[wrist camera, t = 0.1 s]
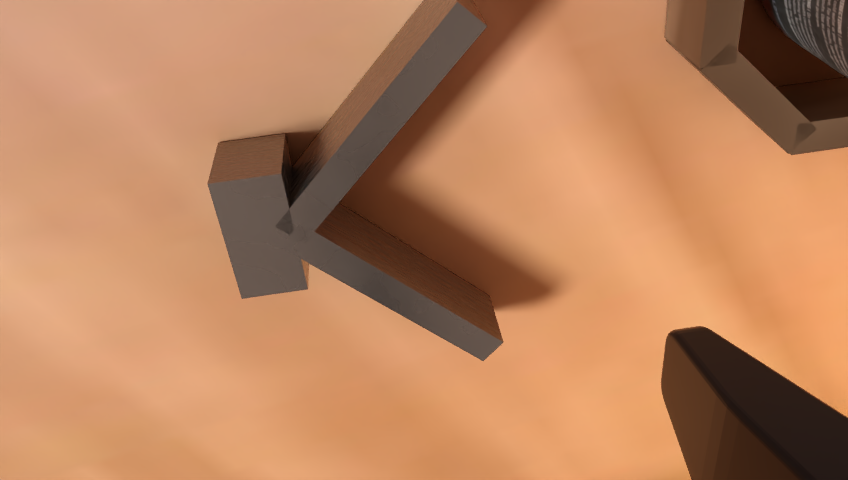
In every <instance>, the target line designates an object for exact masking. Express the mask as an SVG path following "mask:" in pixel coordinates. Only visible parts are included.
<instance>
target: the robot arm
mask: <svg viewBox="0 0 848 480" xmlns="http://www.w3.org/2000/svg"><path fill="white" fill-rule="evenodd" d="M661 388H662V394H663V399H664V402H665V405H666V408H667V410H668V413H669V416H670V419H671V422H672V425H673V428H674V430H675V433H676V436H677V439H678V442H679V445H680V448H681V450H682V453H683V456H684V459H685V462H686V465H687V468H688V470H689V473H690V476H691V479H692V480H848V418H847V417H846V416H844V415H843V414H841V413H840V412H838V411H837V410H835V409H833V408H832V407H830V406H829V405H827V404H826V403H824V402H822V401H821V400H819V399H818V398H816V397H815V396H813V395H812V394H810V393H808V392H807V391H805V390H804V389H802V388H801V387H799V386H797V385H796V384H794V383H793V382H791V381H790V380H788V379H787V378H785V377H783V376H782V375H780V374H779V373H777V372H776V371H774V370H773V369H771V368H769V367H768V366H766V365H765V364H763V363H762V362H760V361H758V360H757V359H755V358H754V357H752V356H751V355H749V354H748V353H746V352H744V351H743V350H741V349H740V348H738V347H737V346H735V345H734V344H732V343H730V342H729V341H727V340H726V339H724V338H723V337H721V336H719V335H718V334H716V333H715V332H713V331H712V330H710V329H708V328H706V327H702V326H697V327H691V328H684V329H677V330H673V331H671V332H670V333H669V334H668V336H667V338H666V344H665V352H664V361H663V369H662V377H661Z"/></svg>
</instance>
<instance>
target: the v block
mask: <svg viewBox="0 0 848 480" xmlns="http://www.w3.org/2000/svg"><path fill="white" fill-rule="evenodd" d="M486 27H487V25H486V23H485V21H484V19H483V18H482V16H481V14H480V12H479V11H478V9H477V7H476V5H475V3H474V2H473V0H424V1H423V2H422V3H421V4H420V6H419V7H418V8H417V9H416V11H415V12H414V13H413V15H412V16H411V17H410V18H409V20H408V21H407V22H406V23H405V25H404V26H403V27H402V28H401V30H400V31H399V32H398V34H397V35H396V36H395V37H394V39H393V40H392V41H391V42H390V44H389V45H388V46H387V47H386V49H385V50H384V51H383V53H382V54H381V55H380V56H379V58H378V59H377V60H376V61H375V63H374V64H373V65H372V66H371V68H370V69H369V70H368V72H367V73H366V74H365V75H364V77H363V78H362V79H361V80H360V82H359V83H358V84H357V85H356V87H355V88H354V89H353V91H352V92H351V93H350V94H349V96H348V97H347V98H346V99H345V101H344V102H343V103H342V104H341V106H340V107H339V108H338V110H337V111H336V112H335V113H334V115H333V116H332V117H331V118H330V120H329V121H328V122H327V123H326V125H325V126H324V127H323V129H322V130H321V131H320V132H319V134H318V135H317V136H316V137H315V139H314V140H313V141H312V142H311V144H310V145H309V146H308V148H307V149H306V150H305V151H304V153H303V154H302V155H301V156H300V158H299V159H298V160H297V161H296V163H295V164H294V165H293V167H292V163H291V158H290V154H289V149H288V145H287V140H286V136H285V134H278V135H271V136H264V137H256V138H249V139H242V140H234V141H227V142H220V143H218V145H217V149H216V153H215V157H214V161H213V165H212V169H211V173H210V176H209V180H208V187H209V190H210V194H211V197H212V200H213V204H214V207H215V210H216V214H217V217H218V220H219V224H220V227H221V230H222V234H223V237H224V240H225V244H226V247H227V251H228V254H229V257H230V261H231V264H232V267H233V271H234V274H235V277H236V281H237V284H238V287H239V291H240V294H241V297H242V299H243V298H250V297H257V296H264V295H271V294H278V293H285V292H292V291H299V290H306V289H308V274H309V264H311V265H313V266H315V267H316V268H318V269H320V270H322V271H324V272H325V273H327V274H329V275H331V276H333V277H334V278H336V279H338V280H340V281H341V282H343V283H345V284H347V285H349V286H350V287H352V288H354V289H356V290H357V291H359V292H361V293H363V294H365V295H366V296H368V297H370V298H372V299H373V300H375V301H377V302H379V303H381V304H382V305H384V306H386V307H388V308H389V309H391V310H393V311H395V312H397V313H398V314H400V315H402V316H404V317H406V318H407V319H409V320H411V321H413V322H414V323H416V324H418V325H420V326H422V327H423V328H425V329H427V330H429V331H430V332H432V333H434V334H436V335H438V336H439V337H441V338H443V339H445V340H446V341H448V342H450V343H452V344H454V345H455V346H457V347H459V348H461V349H462V350H464V351H466V352H468V353H470V354H471V355H473V356H475V357H477V358H479V359H480V360H482V361H484V360H485V359H486V358H487V357H488V356H489V355H490V354H492V353H493V352H494V351H495V350H496V349H497V348H498V347H499V346H500V345H501V344H502V343H503V339H502V336H501V333H500V329H499V326H498V322H497V319H496V316H495V312H494V309H493V306H492V302H491V299H490V296H489V295H488V294H486V293H484V292H483V291H481V290H479V289H478V288H476V287H475V286H473V285H471V284H470V283H468V282H466V281H465V280H463V279H462V278H460V277H458V276H457V275H455V274H453V273H452V272H450V271H449V270H447V269H445V268H444V267H442V266H440V265H439V264H437V263H436V262H434V261H432V260H431V259H429V258H427V257H426V256H424V255H422V254H421V253H419V252H418V251H416V250H414V249H413V248H411V247H409V246H408V245H406V244H405V243H403V242H401V241H400V240H398V239H396V238H395V237H393V236H392V235H390V234H388V233H387V232H385V231H383V230H382V229H380V228H379V227H377V226H375V225H374V224H372V223H370V222H369V221H367V220H366V219H364V218H362V217H361V216H359V215H357V214H356V213H354V212H353V211H351V210H349V209H348V208H346V207H344V206H343V205H341V204H340V203H339V202H340V201H341V199H342V198H343V197H344V196H345V195H346V193H347V192H348V191H349V190H350V189H351V187H352V186H353V185H354V184H355V183H356V182H357V180H358V179H359V178H360V177H361V176H362V174H363V173H364V172H365V171H366V170H367V168H368V167H369V166H370V165H371V164H372V162H373V161H374V160H375V159H376V158H377V157H378V155H379V154H380V153H381V152H382V151H383V149H384V148H385V147H386V146H387V145H388V143H389V142H390V141H391V140H392V139H393V138H394V136H395V135H396V134H397V133H398V132H399V130H400V129H401V128H402V127H403V126H404V124H405V123H406V122H407V121H408V120H409V119H410V117H411V116H412V115H413V114H414V113H415V111H416V110H417V109H418V108H419V107H420V105H421V104H422V103H423V102H424V101H425V100H426V98H427V97H428V96H429V95H430V94H431V92H432V91H433V90H434V89H435V88H436V86H437V85H438V84H439V83H440V82H441V81H442V79H443V78H444V77H445V76H446V75H447V73H448V72H449V71H450V70H451V69H452V67H453V66H454V65H455V64H456V63H457V62H458V60H459V59H460V58H461V57H462V56H463V54H464V53H465V52H466V51H467V50H468V48H469V47H470V46H471V45H472V44H473V43H474V41H475V40H476V39H477V38H478V37H479V35H480V34H481V33H482V32H483V31H484V29H485V28H486Z"/></svg>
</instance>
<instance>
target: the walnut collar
mask: <svg viewBox="0 0 848 480" xmlns="http://www.w3.org/2000/svg"><path fill="white" fill-rule="evenodd" d="M744 2H745V0H668V1H667V13H666V25H665V38H666V41H667V42H668V43H669V44H670V45H671V46H672V47H673V48H674V49H675V50H677V51H678V52H679V53H680V54H681V55H682V56H683V57H684V58H685V59H686V60H687V61H688V62H689V63H690V64H692V65H693V66H694V67H695V68H696V69H697V70H698V71H699V72H700V73H701V74H702V75H703V76H704V77H705V78H706V79H708V80H709V81H710V82H711V83H712V84H713V85H714V86H715V87H716V88H717V89H718V90H719V91H720V92H721V93H722V94H724V95H725V96H726V97H727V98H728V99H729V100H730V101H731V102H732V103H733V104H734V105H735V106H736V107H737V108H739V109H740V110H741V111H742V112H743V113H744V114H745V115H746V116H747V117H748V118H749V119H750V120H751V121H753V122H754V123H755V124H756V125H757V126H758V127H759V128H760V129H761V130H763V131H764V132H765V133H766V134H767V135H768V136H769V137H770V138H771V139H773V140H774V141H775V142H776V143H777V144H778V145H779V146H780V147H781V148H783V149H784V150H785V151H786V152H787V153H788V154H791V155H795V154H802V153H809V152H816V151H823V150H830V149H837V148H844V147H848V78H847V77H844V78H837V79H830V80H823V81H816V82H808V83H801V84H794V85H787V86H779V87H774V86H773V85H772V84H771V83H770V82H769V81H768V80H767V79H766V78H765V77H764V76H763V75H762V74H761V73H760V72H759V71H758V70H757V69H756V68H755V67H754V66H753V65H752V64H751V63H750V62H749V61H748V60H747V59H746V58H745V57H744V56H743V55H742V54H741V53H740V52H739V51H738V45H739V38H740V30H741V23H742V16H743V9H744Z"/></svg>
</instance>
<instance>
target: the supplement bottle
mask: <svg viewBox="0 0 848 480" xmlns="http://www.w3.org/2000/svg"><path fill="white" fill-rule="evenodd" d="M762 4H763V6H764V8H765V10H766V12H767V14H768V15H769V17H770V19H771V20H772V21H773V23H774V24H775V25H776V26H777V27H778V28H779V29H780V30H781V31H782V32H783V33H784V34H785V35H786V36H787V37H789V38H790V39H792V40H793V41H794V42H796V43H797V44H798V45H799V46H801V47H802V48H804V49H805V50H807V51H808V52H810V53H811V54H813V55H814V56H816V57H817V58H819V59H820V60H821V61H823V62H825V63H826V64H827V65H829V66H830V67H832V68H833V69H835V70H836V71H837V72H839V73H841V74H842V75H844V76H846V77H847V78H848V0H762Z"/></svg>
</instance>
